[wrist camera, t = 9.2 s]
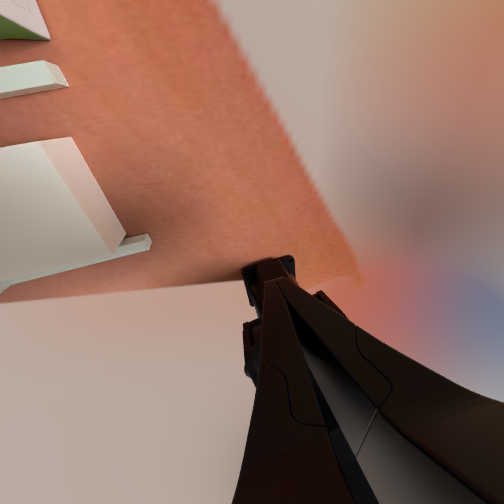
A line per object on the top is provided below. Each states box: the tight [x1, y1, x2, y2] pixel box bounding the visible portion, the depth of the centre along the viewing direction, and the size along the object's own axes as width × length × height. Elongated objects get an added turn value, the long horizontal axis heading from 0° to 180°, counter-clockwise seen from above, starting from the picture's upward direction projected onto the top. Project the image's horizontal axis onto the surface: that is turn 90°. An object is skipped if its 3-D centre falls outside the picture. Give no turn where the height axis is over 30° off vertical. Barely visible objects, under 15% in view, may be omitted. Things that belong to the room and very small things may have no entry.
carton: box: [0, 137, 126, 281], centre depth 15 cm, size 8×8×4 cm
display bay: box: [0, 60, 152, 294], centre depth 14 cm, size 13×13×5 cm
